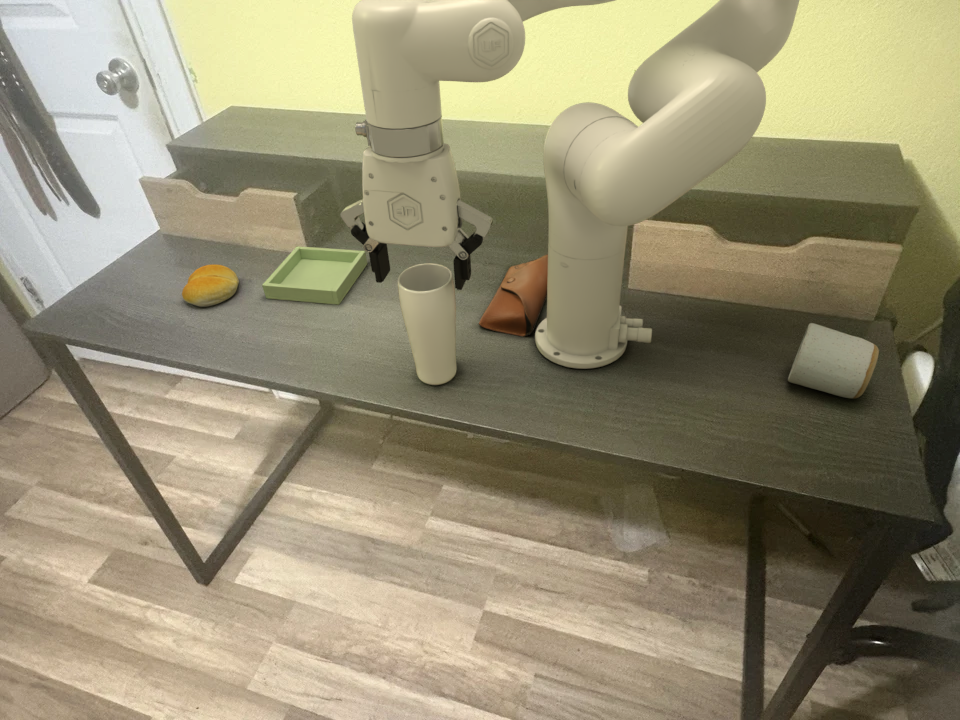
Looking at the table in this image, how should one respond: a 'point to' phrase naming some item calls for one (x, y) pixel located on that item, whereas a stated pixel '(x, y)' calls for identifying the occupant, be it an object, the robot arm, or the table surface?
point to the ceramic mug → (834, 362)
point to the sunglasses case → (518, 299)
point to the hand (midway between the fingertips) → (422, 280)
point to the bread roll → (210, 285)
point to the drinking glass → (430, 320)
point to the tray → (315, 275)
